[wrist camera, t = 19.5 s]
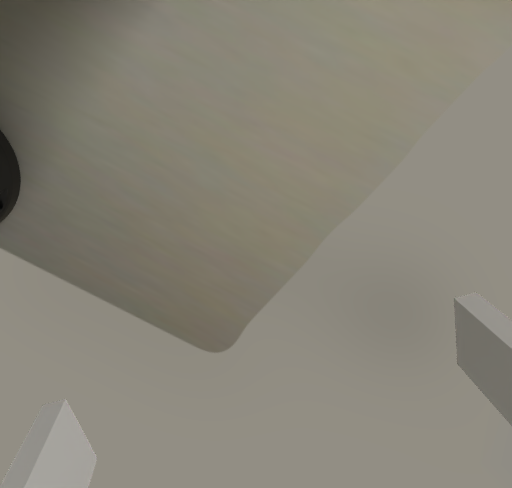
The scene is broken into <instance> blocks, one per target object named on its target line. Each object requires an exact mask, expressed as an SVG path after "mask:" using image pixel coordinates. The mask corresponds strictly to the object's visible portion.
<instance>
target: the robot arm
mask: <svg viewBox="0 0 512 488" xmlns="http://www.w3.org/2000/svg"><path fill="white" fill-rule="evenodd" d="M19 191H20V170H19V165H18V161H17V158H16V155H15V153H14V151H13V149H12V147H11V145H10V143H9V141H8V140H7V138H6V137H5V136H4V134H3V133H2V132H1V130H0V222H1V221H2V220H3V219H5V218H6V217H7V216H8V214H9V213H10V212H11V210H12V209H13V207H14V205H15V203H16V201H17V198H18V195H19ZM454 307H455V327H456V346H457V364H458V365H459V366H460V367H461V369H462V370H463V371H464V372H465V373H466V374H467V375H468V377H469V378H470V379H471V380H472V381H473V382H474V383H475V385H476V386H477V387H478V388H479V389H480V390H481V391H482V393H483V394H484V395H485V396H486V397H487V398H488V399H489V401H490V402H491V403H492V404H493V405H494V406H495V407H496V408H497V410H498V411H499V412H500V413H501V414H502V415H503V416H504V418H505V419H506V420H507V421H508V422H509V423H510V424H511V425H512V320H511V319H510V318H509V317H507V316H506V315H505V314H503V313H502V312H501V311H500V310H498V309H497V308H496V307H494V306H493V305H492V304H491V303H489V302H488V301H487V300H485V299H484V298H483V297H482V296H480V295H479V294H478V293H477V292H476V293H472V294H468V295H464V296H460V297H456V298H454ZM96 460H97V456H96V455H95V453H94V451H93V449H92V447H91V445H90V443H89V441H88V440H87V438H86V436H85V434H84V432H83V430H82V428H81V427H80V425H79V423H78V421H77V419H76V417H75V415H74V414H73V412H72V410H71V408H70V406H69V404H68V402H67V401H66V399H63V400H59V401H56V402H52V403H48V404H44V405H42V407H41V409H40V411H39V413H38V415H37V417H36V419H35V420H34V422H33V424H32V426H31V428H30V430H29V432H28V434H27V436H26V437H25V439H24V441H23V443H22V445H21V447H20V449H19V451H18V453H17V455H16V456H15V459H14V460H13V462H12V464H11V466H10V468H9V470H8V472H7V474H6V476H5V477H4V479H3V481H2V483H1V485H0V488H88V487H89V484H90V480H91V477H92V474H93V470H94V467H95V464H96Z"/></svg>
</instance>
